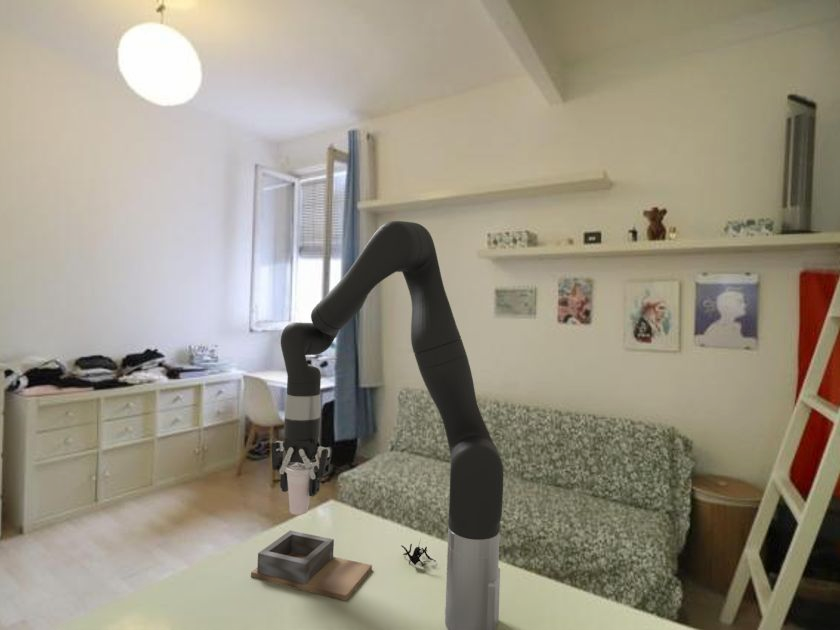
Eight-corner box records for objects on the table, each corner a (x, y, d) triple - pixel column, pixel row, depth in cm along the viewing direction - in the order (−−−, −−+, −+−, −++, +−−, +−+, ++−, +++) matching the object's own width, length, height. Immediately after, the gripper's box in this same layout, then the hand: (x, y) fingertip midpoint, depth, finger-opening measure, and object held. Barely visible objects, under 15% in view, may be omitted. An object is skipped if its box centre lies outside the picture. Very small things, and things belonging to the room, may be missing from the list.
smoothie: (281, 507, 101) (284, 443, 101) (310, 503, 104) (313, 441, 104) (286, 519, 95) (289, 451, 95) (317, 514, 98) (319, 448, 98)
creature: (406, 556, 109) (394, 565, 102) (408, 532, 110) (397, 538, 103) (438, 563, 107) (429, 572, 99) (440, 537, 108) (431, 545, 100)
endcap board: (371, 569, 100) (372, 546, 100) (346, 600, 89) (346, 574, 89) (285, 550, 107) (285, 528, 107) (250, 576, 96) (251, 552, 96)
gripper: (340, 415, 101) (337, 492, 101) (284, 409, 106) (281, 482, 105) (323, 421, 94) (319, 504, 94) (263, 414, 99) (260, 493, 98)
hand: (299, 492), depth 100 cm, fingers closed on smoothie, 6 cm apart
